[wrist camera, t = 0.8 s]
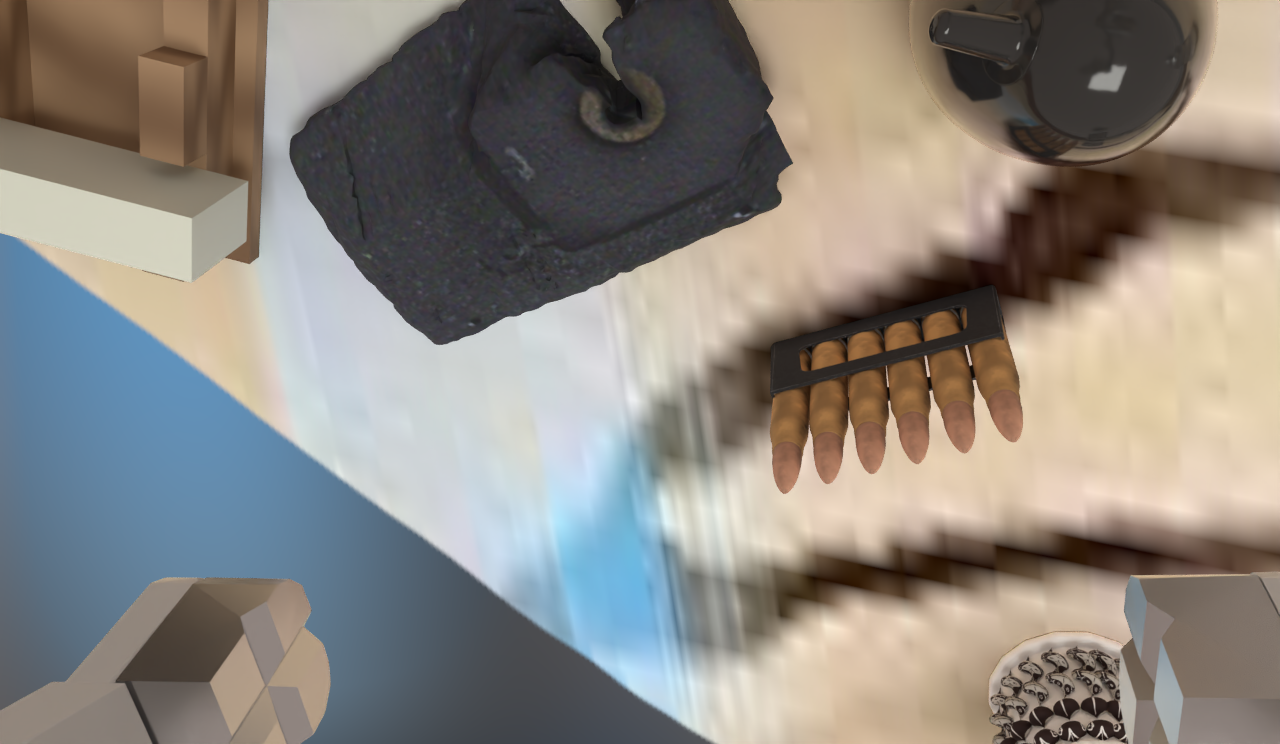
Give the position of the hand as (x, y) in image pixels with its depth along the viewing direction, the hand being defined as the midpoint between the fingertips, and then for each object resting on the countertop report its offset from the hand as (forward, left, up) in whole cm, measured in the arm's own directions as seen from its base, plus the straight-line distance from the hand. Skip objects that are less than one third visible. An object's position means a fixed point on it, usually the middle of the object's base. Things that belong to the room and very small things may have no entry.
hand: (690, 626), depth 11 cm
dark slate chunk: (+9, -10, -41) cm, 43 cm away
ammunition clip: (+14, +8, -40) cm, 43 cm away
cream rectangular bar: (+15, -30, -37) cm, 50 cm away
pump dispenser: (-2, +9, -40) cm, 41 cm away
